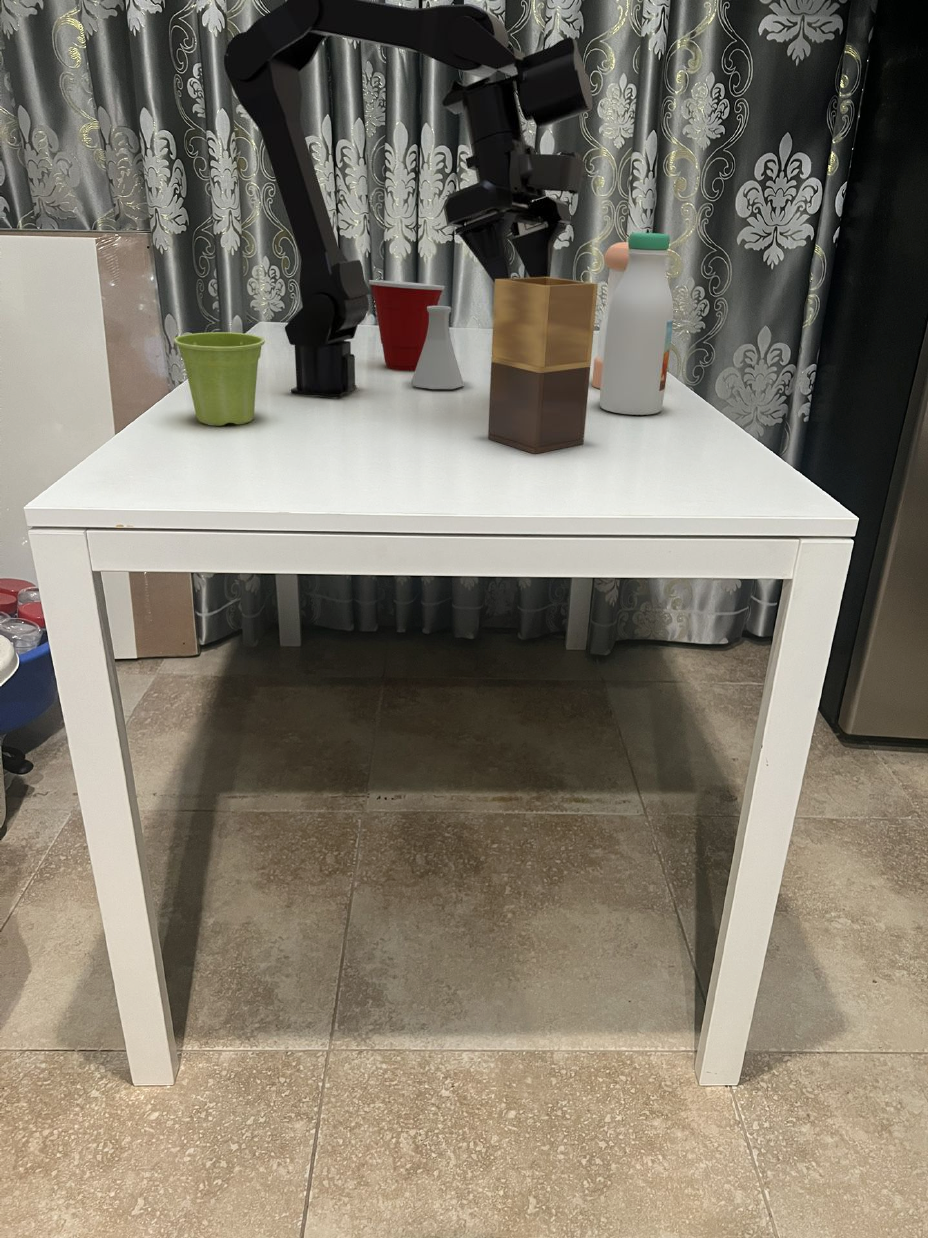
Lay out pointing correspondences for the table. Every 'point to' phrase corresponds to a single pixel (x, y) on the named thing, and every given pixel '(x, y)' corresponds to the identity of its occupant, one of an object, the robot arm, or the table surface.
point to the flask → (438, 354)
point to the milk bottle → (639, 331)
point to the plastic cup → (403, 319)
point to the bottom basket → (537, 408)
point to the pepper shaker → (610, 299)
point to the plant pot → (221, 374)
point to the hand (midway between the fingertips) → (525, 293)
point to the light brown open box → (543, 323)
